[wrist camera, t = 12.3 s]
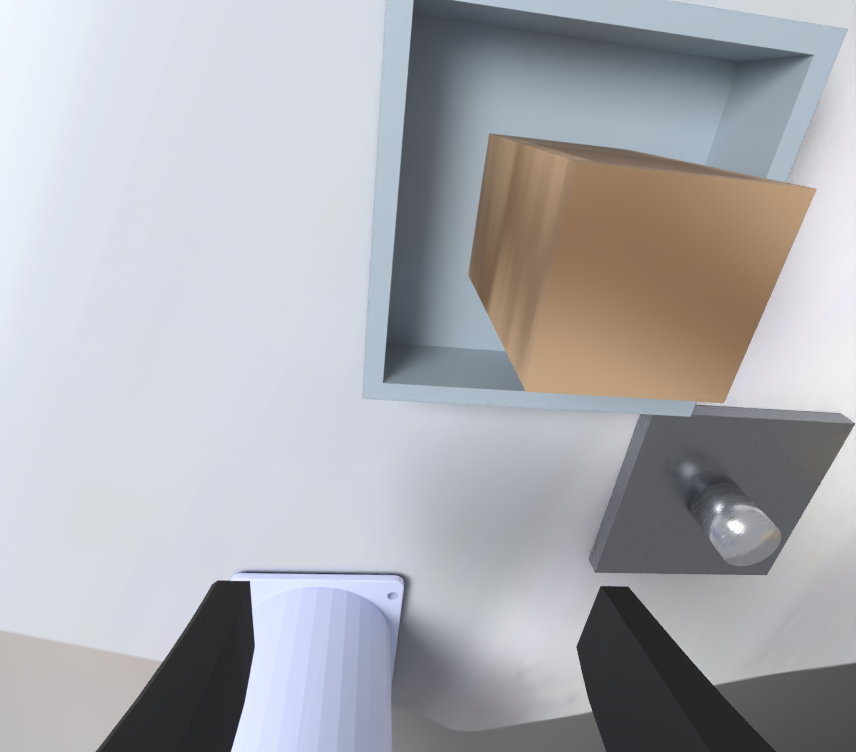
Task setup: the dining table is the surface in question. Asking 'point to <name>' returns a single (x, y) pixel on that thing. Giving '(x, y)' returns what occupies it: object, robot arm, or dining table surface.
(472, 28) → the bin
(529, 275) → the brown block
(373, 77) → the dining table surface
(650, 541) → the base
